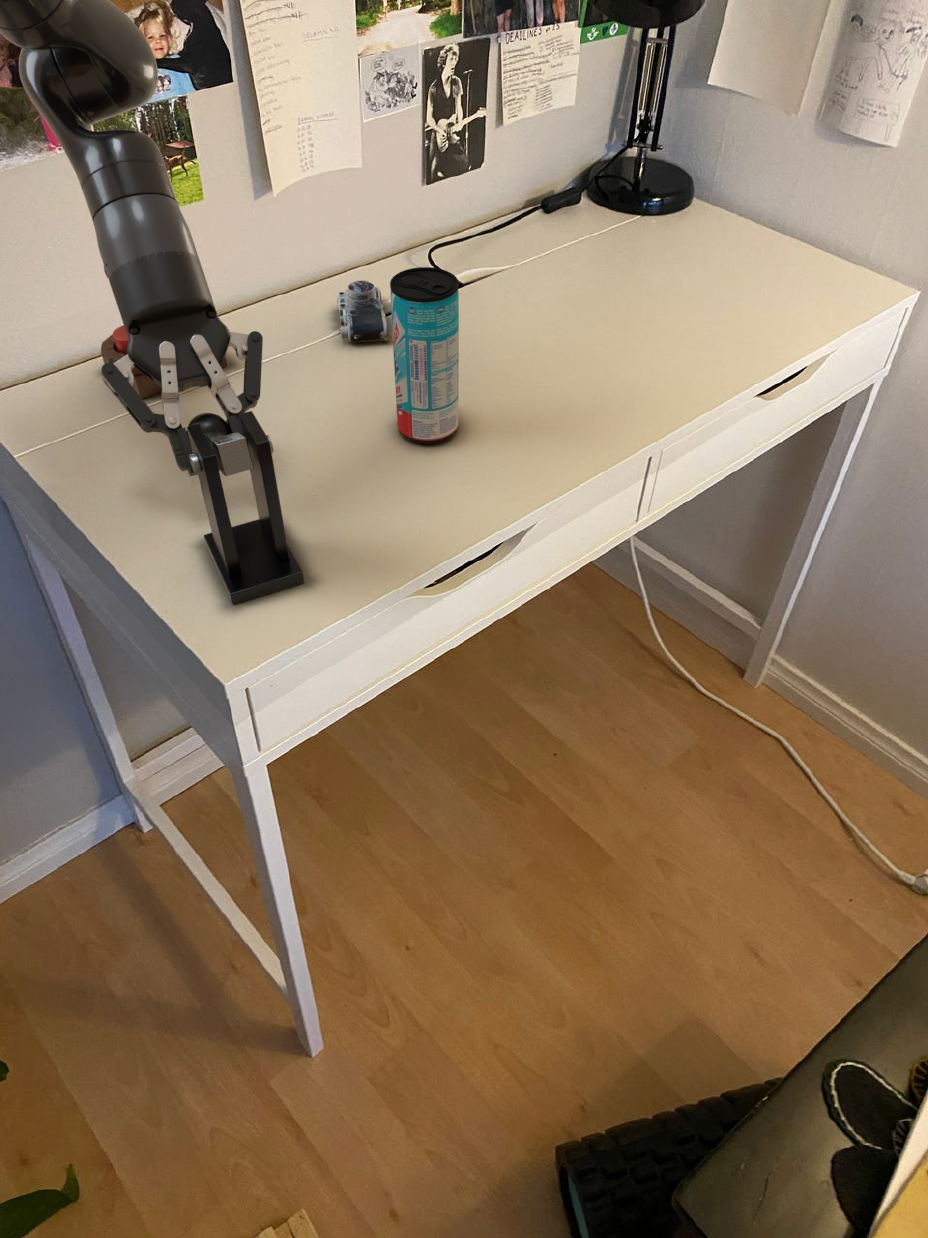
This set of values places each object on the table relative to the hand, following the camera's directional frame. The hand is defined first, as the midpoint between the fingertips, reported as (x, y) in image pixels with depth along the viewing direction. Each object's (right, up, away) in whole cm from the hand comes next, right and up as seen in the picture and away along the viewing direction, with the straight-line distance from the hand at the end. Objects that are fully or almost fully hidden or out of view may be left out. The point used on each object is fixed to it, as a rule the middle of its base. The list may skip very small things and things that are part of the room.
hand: (219, 466), depth 80 cm
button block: (-11, +14, +21) cm, 27 cm away
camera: (+9, +20, +28) cm, 35 cm away
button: (-13, +15, +17) cm, 26 cm away
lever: (+1, 0, -4) cm, 4 cm away
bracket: (+3, -8, -1) cm, 9 cm away
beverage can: (+17, +5, +13) cm, 22 cm away
